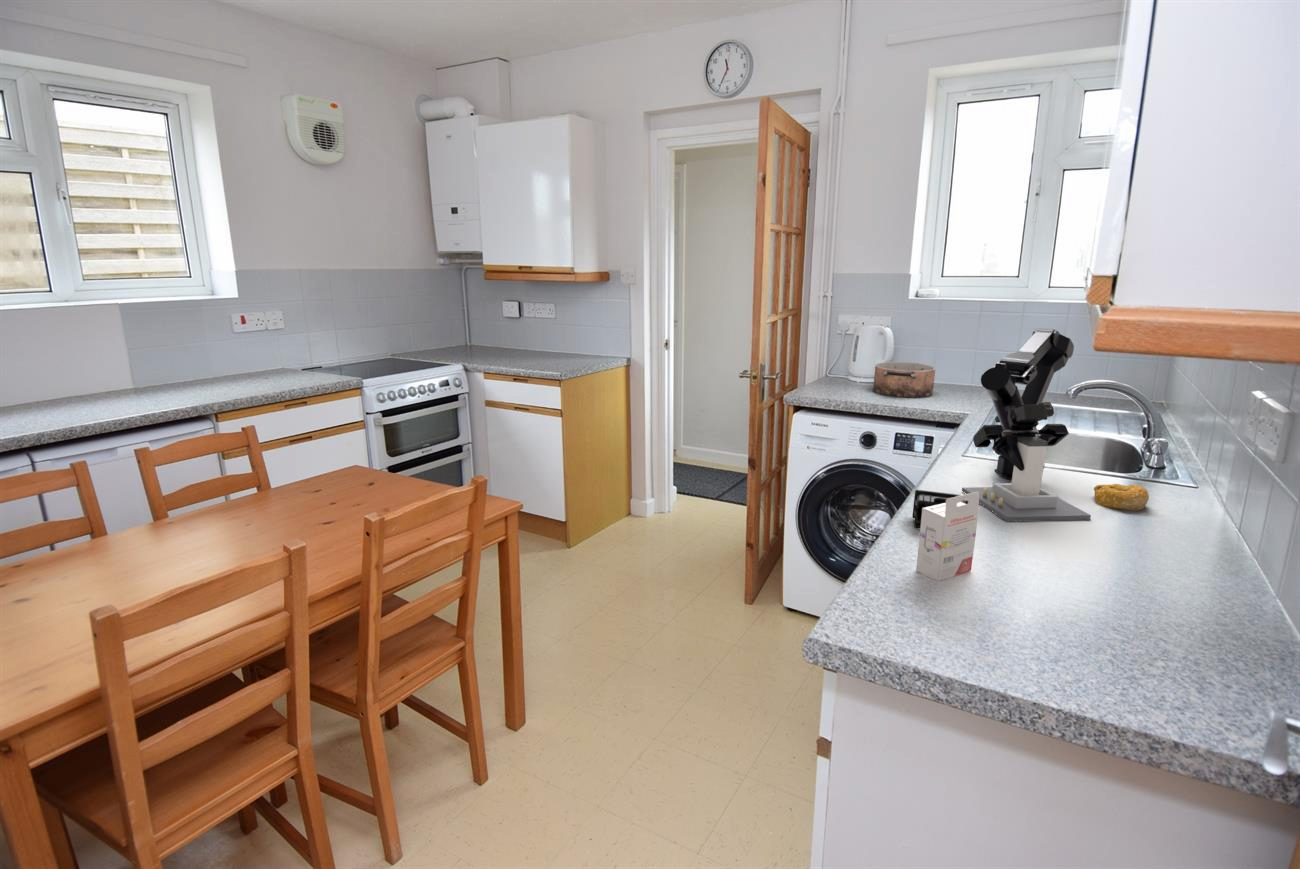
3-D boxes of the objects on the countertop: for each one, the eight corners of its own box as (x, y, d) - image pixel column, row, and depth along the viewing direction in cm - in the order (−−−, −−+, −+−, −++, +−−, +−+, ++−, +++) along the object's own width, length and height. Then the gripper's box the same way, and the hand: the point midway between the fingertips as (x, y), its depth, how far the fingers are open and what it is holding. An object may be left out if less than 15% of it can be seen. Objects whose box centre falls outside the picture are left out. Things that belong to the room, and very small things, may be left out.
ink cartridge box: (947, 560, 120) (957, 482, 116) (971, 571, 116) (983, 491, 112) (913, 570, 116) (923, 490, 112) (937, 582, 112) (948, 499, 108)
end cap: (964, 522, 137) (968, 491, 136) (965, 535, 131) (970, 503, 129) (912, 515, 141) (915, 485, 139) (911, 528, 135) (914, 496, 133)
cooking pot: (925, 402, 250) (929, 374, 247) (865, 396, 261) (867, 369, 258) (937, 389, 275) (940, 363, 272) (881, 384, 286) (883, 359, 283)
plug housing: (1027, 493, 149) (1036, 436, 145) (1038, 499, 145) (1047, 441, 141) (1009, 493, 148) (1018, 436, 145) (1020, 499, 145) (1029, 441, 141)
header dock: (1036, 490, 156) (1038, 476, 155) (1090, 519, 139) (1093, 503, 138) (961, 491, 155) (963, 477, 154) (1006, 521, 138) (1008, 505, 137)
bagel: (1123, 495, 154) (1127, 475, 152) (1158, 513, 143) (1162, 492, 142) (1080, 495, 154) (1083, 475, 153) (1111, 514, 143) (1115, 493, 142)
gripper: (987, 388, 144) (1009, 452, 136) (1070, 387, 145) (1097, 451, 137) (963, 415, 153) (983, 477, 146) (1042, 414, 154) (1065, 475, 147)
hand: (1032, 469), depth 144 cm, fingers closed on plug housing, 4 cm apart
